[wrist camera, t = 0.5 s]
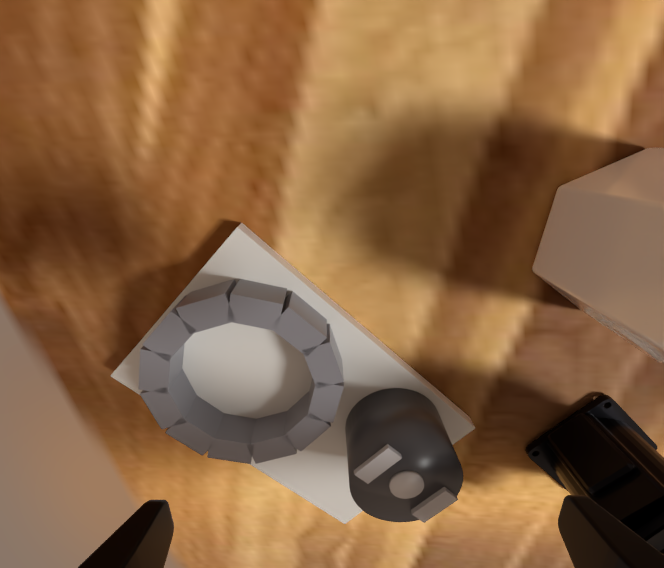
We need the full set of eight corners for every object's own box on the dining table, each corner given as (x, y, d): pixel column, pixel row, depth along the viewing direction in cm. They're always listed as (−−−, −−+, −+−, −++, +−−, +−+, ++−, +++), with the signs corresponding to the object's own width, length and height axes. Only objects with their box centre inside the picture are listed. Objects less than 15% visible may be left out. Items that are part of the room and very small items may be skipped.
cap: (459, 424, 22) (488, 484, 18) (390, 475, 24) (403, 541, 20) (394, 370, 21) (411, 423, 17) (325, 429, 22) (325, 490, 18)
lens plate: (469, 416, 23) (489, 453, 21) (344, 510, 26) (346, 553, 24) (241, 222, 18) (226, 236, 16) (119, 366, 21) (88, 399, 19)
